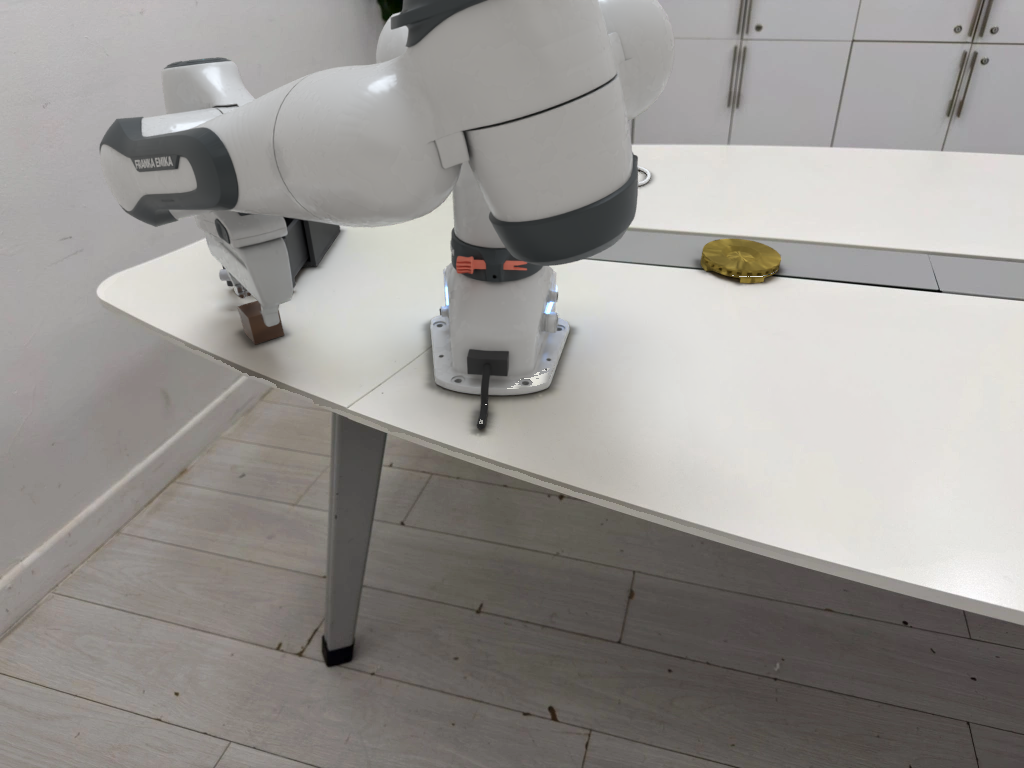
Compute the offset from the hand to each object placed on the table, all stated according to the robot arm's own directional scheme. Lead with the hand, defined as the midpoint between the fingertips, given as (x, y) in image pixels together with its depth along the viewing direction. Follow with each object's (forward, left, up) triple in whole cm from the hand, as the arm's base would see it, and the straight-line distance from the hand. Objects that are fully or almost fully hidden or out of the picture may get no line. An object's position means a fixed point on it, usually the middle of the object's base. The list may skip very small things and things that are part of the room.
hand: (257, 309), depth 88 cm
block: (0, 0, -4) cm, 4 cm away
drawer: (+16, +4, -3) cm, 17 cm away
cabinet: (+28, +4, -4) cm, 29 cm away
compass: (+25, -69, -4) cm, 73 cm away
